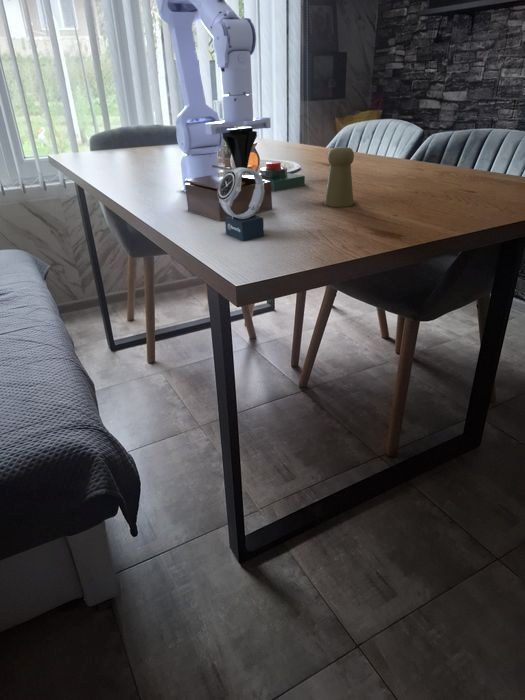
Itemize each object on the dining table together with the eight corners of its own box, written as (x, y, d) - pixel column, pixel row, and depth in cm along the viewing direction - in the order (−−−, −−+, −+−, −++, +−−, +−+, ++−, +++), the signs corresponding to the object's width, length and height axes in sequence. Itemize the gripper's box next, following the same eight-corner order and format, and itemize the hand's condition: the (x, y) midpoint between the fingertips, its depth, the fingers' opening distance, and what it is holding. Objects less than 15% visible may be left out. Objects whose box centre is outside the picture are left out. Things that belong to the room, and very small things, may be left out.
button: (263, 170, 120) (263, 162, 119) (274, 168, 122) (274, 160, 121) (272, 171, 118) (272, 164, 117) (283, 169, 120) (283, 162, 119)
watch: (216, 236, 84) (210, 169, 79) (254, 227, 88) (251, 163, 82) (233, 243, 80) (228, 173, 75) (272, 234, 84) (270, 167, 78)
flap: (235, 172, 105) (236, 170, 105) (270, 179, 97) (271, 177, 97) (211, 166, 101) (212, 164, 101) (246, 173, 93) (246, 170, 92)
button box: (243, 185, 123) (242, 168, 121) (273, 179, 128) (273, 163, 126) (274, 191, 115) (273, 173, 113) (304, 185, 120) (304, 168, 118)
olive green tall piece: (352, 207, 98) (356, 149, 93) (323, 206, 100) (324, 149, 94) (354, 200, 104) (357, 145, 98) (325, 200, 105) (327, 145, 99)
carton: (237, 200, 108) (235, 170, 105) (272, 209, 100) (271, 177, 97) (187, 211, 101) (184, 179, 98) (220, 221, 93) (217, 187, 90)
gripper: (217, 97, 85) (223, 177, 92) (279, 92, 93) (281, 167, 100) (196, 97, 90) (203, 173, 97) (257, 93, 98) (259, 163, 105)
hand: (241, 170), depth 99 cm, fingers closed
